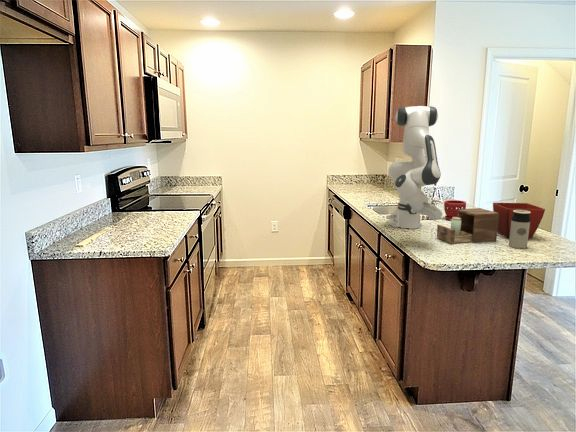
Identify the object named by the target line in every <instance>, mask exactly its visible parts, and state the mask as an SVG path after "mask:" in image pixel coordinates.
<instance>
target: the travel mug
mask: <svg viewBox="0 0 576 432" xmlns="http://www.w3.org/2000/svg"><path fill="white" fill-rule="evenodd" d="M513 212H514V215H513V216H512V220H511V229H510V238H508V245H509V247H511V248H513V247H515V248H514V249H519V248H523V249H526V247H527V248H528V242H529V241H528V240H529V238H528V235H529V227H530V216H529V215H530V213H531V212H530V211H526V210H513Z"/></svg>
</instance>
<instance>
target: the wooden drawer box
mask: <svg viewBox="0 0 576 432" xmlns="http://www.w3.org/2000/svg"><path fill="white" fill-rule="evenodd" d="M457 217H460V218H461V229H460V231H464V232H467V233H469V234H472V235H473V237H472V241H471V243H472V244H479V243H480V244H481V243H491V242H497V237H498V232H497V230H498V220H499V213H497V212H493V210H489V209H486V208H482V207H478V208H477V207H476V208H466V209H460V208H459V210H458V216H457Z"/></svg>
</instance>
